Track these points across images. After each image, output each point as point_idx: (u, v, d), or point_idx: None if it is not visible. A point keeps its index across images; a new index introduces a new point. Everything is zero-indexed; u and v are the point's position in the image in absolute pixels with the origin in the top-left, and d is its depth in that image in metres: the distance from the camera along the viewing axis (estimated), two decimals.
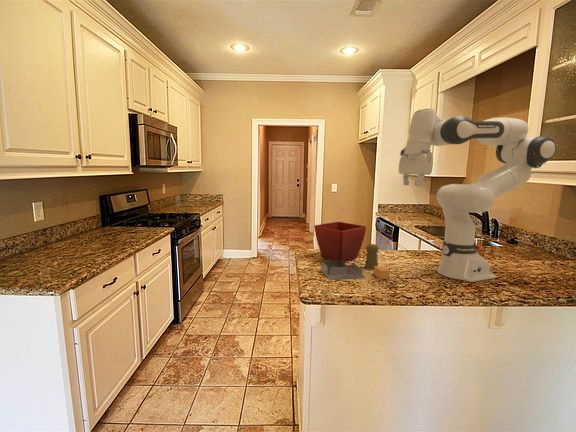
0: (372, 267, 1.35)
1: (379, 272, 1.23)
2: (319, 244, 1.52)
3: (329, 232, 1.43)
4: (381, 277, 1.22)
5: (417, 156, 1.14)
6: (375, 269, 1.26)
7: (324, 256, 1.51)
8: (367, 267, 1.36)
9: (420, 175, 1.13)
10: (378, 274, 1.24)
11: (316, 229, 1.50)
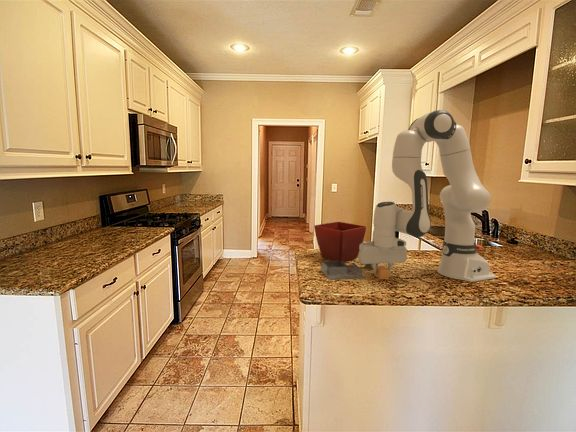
0: None
1: (379, 272, 1.23)
2: (319, 244, 1.52)
3: (329, 232, 1.43)
4: (381, 277, 1.22)
5: None
6: None
7: (324, 256, 1.51)
8: (367, 267, 1.36)
9: None
10: (378, 274, 1.24)
11: (316, 229, 1.50)
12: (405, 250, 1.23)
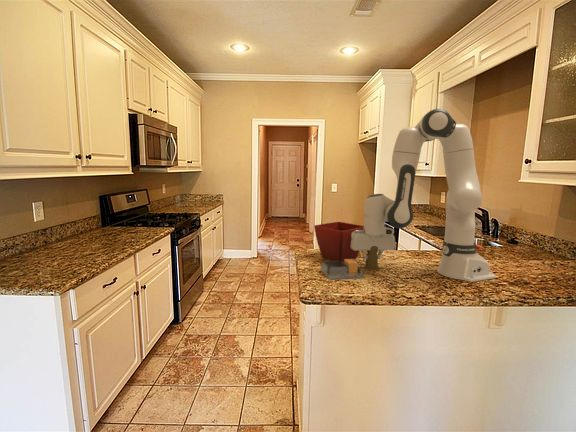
0: (372, 267, 1.35)
1: (348, 265, 1.27)
2: (319, 244, 1.52)
3: (329, 232, 1.43)
4: (349, 269, 1.26)
5: None
6: (345, 262, 1.30)
7: (324, 256, 1.51)
8: (367, 267, 1.36)
9: (361, 250, 1.36)
10: None
11: (316, 229, 1.50)
12: (393, 238, 1.34)
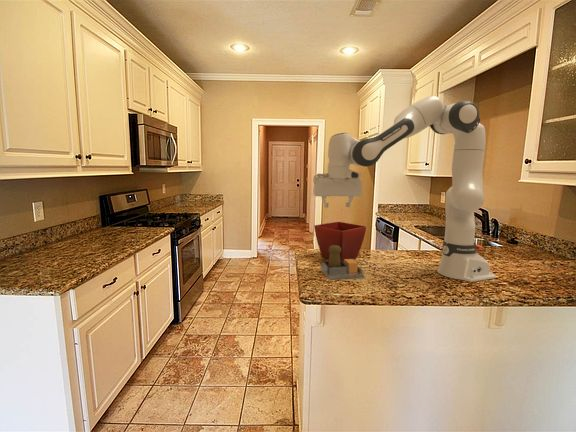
0: None
1: (348, 265, 1.27)
2: (319, 244, 1.52)
3: (329, 232, 1.43)
4: (349, 269, 1.26)
5: None
6: (345, 262, 1.30)
7: (324, 256, 1.51)
8: None
9: None
10: None
11: (316, 229, 1.50)
12: (360, 183, 1.22)
